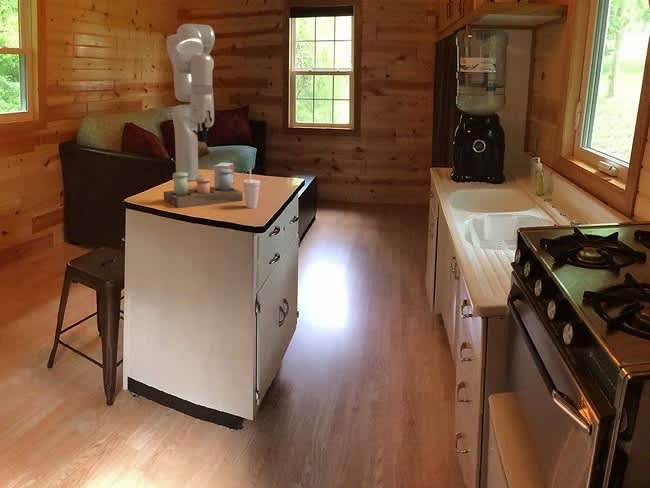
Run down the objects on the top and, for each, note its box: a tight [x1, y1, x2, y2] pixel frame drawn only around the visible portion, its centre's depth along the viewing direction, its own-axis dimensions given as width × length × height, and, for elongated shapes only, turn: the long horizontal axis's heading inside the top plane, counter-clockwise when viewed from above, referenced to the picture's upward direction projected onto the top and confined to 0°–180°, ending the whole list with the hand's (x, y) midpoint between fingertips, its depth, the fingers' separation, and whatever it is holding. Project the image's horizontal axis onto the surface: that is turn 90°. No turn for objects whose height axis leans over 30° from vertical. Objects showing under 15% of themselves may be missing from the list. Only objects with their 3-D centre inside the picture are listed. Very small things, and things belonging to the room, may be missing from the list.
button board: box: [163, 186, 243, 209], centre depth 235 cm, size 13×26×3 cm, turn 127°
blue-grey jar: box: [218, 169, 232, 191], centre depth 239 cm, size 5×5×8 cm
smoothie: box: [242, 168, 261, 209], centre depth 227 cm, size 6×6×14 cm
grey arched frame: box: [213, 162, 235, 189], centre depth 254 cm, size 8×6×10 cm
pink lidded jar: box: [195, 176, 212, 194], centre depth 234 cm, size 5×5×8 cm
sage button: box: [172, 171, 189, 196], centre depth 228 cm, size 5×5×8 cm
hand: (202, 141), depth 229 cm, fingers closed
